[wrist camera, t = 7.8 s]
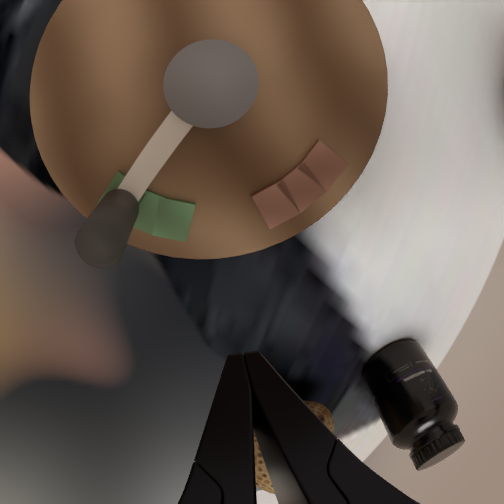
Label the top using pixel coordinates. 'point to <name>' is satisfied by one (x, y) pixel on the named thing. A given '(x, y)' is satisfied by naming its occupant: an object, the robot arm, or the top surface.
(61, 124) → the round wooden board
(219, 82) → the multicoloured piece
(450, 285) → the top surface
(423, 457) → the supplement bottle
